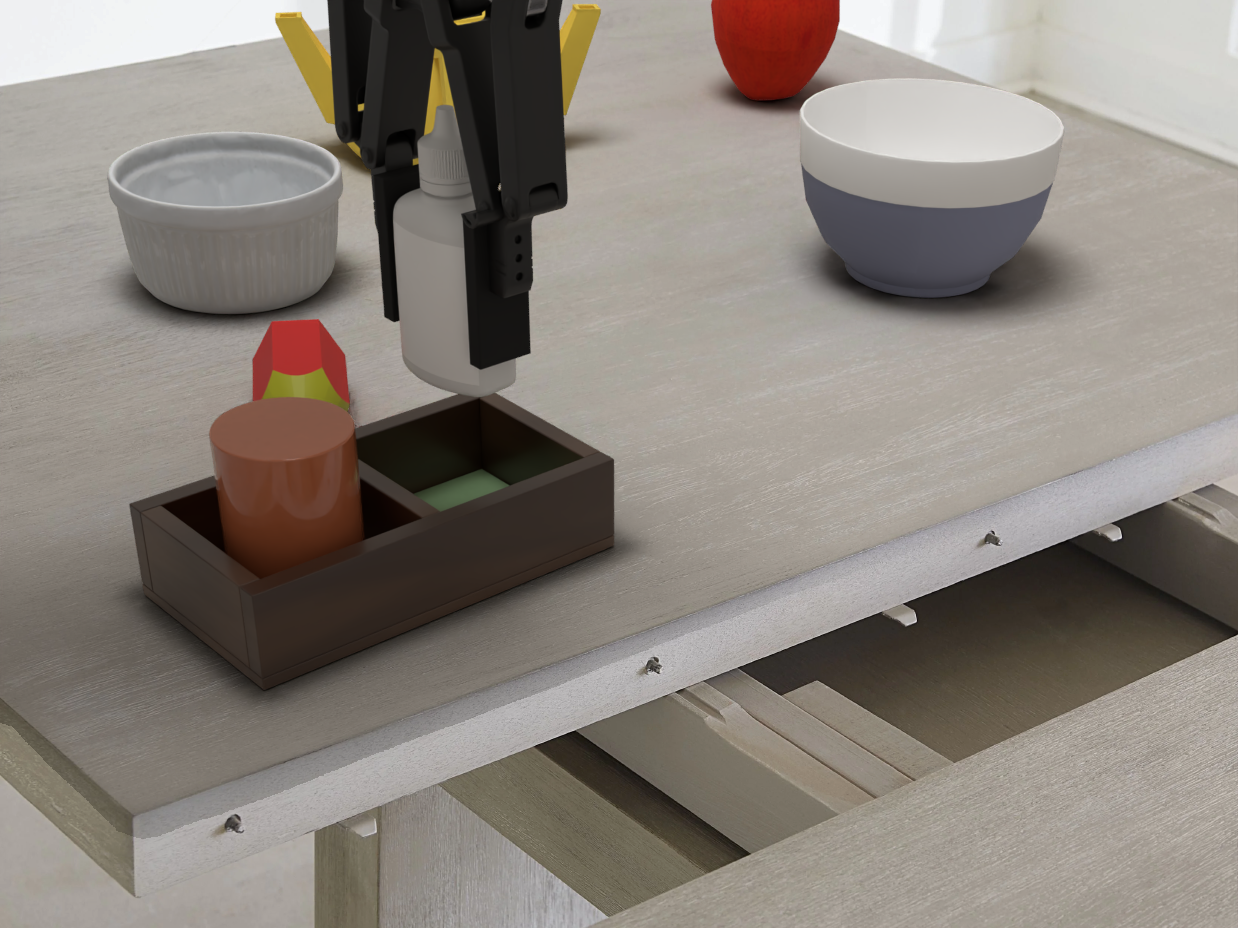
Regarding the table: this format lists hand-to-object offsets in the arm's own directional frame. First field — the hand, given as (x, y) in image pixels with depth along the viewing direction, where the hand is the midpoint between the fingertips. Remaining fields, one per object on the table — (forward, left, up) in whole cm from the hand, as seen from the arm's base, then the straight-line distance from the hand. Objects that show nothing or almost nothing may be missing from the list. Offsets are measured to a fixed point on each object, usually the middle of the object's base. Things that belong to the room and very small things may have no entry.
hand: (456, 333), depth 84 cm
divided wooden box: (0, -5, -10) cm, 11 cm away
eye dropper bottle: (0, 0, -2) cm, 2 cm away
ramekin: (-34, +8, -11) cm, 36 cm away
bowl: (-10, +42, -11) cm, 44 cm away
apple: (-41, +59, -11) cm, 72 cm away
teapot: (-46, +32, -11) cm, 57 cm away
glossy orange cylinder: (0, -9, -10) cm, 13 cm away
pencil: (-13, -1, -11) cm, 17 cm away
